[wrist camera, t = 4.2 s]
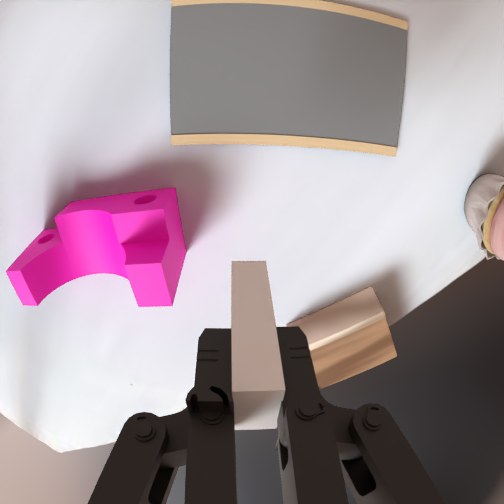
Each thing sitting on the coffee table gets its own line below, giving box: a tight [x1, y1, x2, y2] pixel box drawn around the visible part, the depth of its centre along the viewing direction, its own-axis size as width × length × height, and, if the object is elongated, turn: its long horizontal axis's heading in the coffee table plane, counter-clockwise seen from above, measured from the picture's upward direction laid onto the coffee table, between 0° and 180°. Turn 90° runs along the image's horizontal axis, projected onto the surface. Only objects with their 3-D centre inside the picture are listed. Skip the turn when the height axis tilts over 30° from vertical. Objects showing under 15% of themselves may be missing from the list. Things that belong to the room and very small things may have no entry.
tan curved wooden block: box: [286, 286, 397, 388], centre depth 32 cm, size 4×10×9 cm
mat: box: [170, 0, 408, 157], centre depth 19 cm, size 18×12×1 cm, turn 88°
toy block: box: [6, 188, 186, 307], centre depth 23 cm, size 15×6×8 cm, turn 93°
